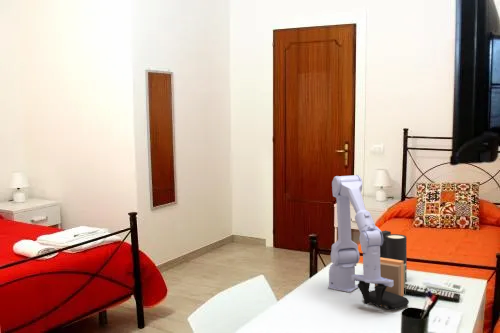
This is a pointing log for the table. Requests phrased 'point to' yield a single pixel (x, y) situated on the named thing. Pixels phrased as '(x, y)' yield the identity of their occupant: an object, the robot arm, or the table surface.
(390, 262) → the tan upright slab
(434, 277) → the table surface
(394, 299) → the carrying case or bag
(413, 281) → the table surface
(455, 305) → the table surface
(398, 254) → the light fixture
